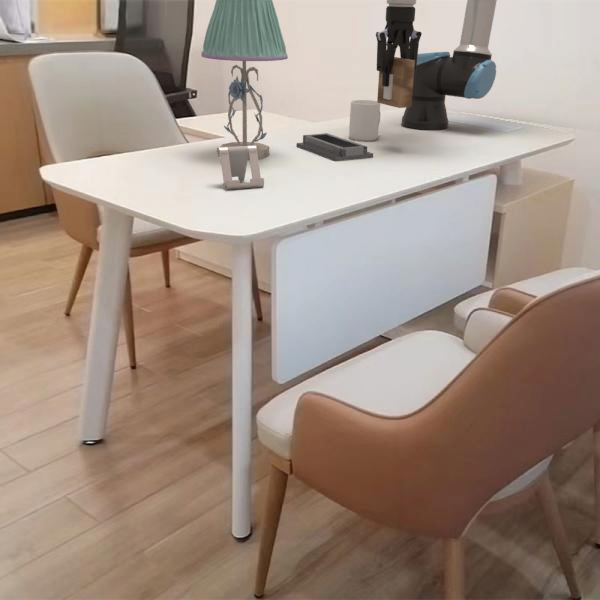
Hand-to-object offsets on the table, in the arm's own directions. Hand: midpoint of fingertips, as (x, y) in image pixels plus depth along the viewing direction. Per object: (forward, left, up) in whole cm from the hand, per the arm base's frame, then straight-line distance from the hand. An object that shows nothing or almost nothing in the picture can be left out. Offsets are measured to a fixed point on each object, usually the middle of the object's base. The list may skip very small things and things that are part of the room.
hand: (394, 98), depth 200 cm
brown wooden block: (0, 0, -2) cm, 2 cm away
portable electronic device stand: (+55, +18, -14) cm, 60 cm away
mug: (-4, -17, -14) cm, 22 cm away
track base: (+16, -4, -14) cm, 22 cm away
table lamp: (+40, -10, -14) cm, 44 cm away
